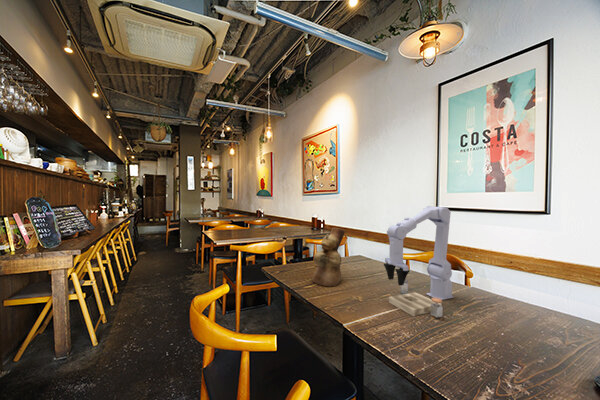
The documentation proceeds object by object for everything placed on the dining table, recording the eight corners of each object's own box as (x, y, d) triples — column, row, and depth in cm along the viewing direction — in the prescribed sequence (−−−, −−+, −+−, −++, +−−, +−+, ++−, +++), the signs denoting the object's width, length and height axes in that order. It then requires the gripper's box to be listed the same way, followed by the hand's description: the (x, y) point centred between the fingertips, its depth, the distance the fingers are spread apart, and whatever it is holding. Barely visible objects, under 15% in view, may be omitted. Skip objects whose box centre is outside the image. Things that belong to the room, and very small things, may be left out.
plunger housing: (435, 313, 102) (435, 303, 102) (442, 316, 100) (442, 306, 100) (430, 314, 101) (430, 304, 101) (436, 317, 98) (437, 307, 98)
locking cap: (435, 307, 103) (435, 296, 103) (443, 311, 99) (443, 300, 99) (429, 308, 101) (429, 298, 101) (437, 312, 98) (437, 301, 98)
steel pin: (404, 292, 126) (404, 278, 126) (409, 295, 123) (409, 280, 123) (399, 293, 125) (399, 279, 125) (404, 295, 122) (404, 281, 122)
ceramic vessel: (306, 281, 141) (307, 228, 140) (332, 273, 155) (332, 225, 155) (327, 289, 129) (328, 231, 129) (353, 280, 144) (353, 228, 143)
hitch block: (415, 297, 120) (415, 292, 120) (441, 309, 107) (441, 304, 107) (388, 302, 114) (389, 296, 114) (413, 316, 101) (413, 309, 101)
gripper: (379, 249, 119) (379, 277, 119) (398, 256, 105) (397, 288, 105) (392, 248, 120) (392, 276, 121) (412, 255, 106) (412, 287, 106)
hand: (395, 282), depth 113 cm, fingers open, 7 cm apart
